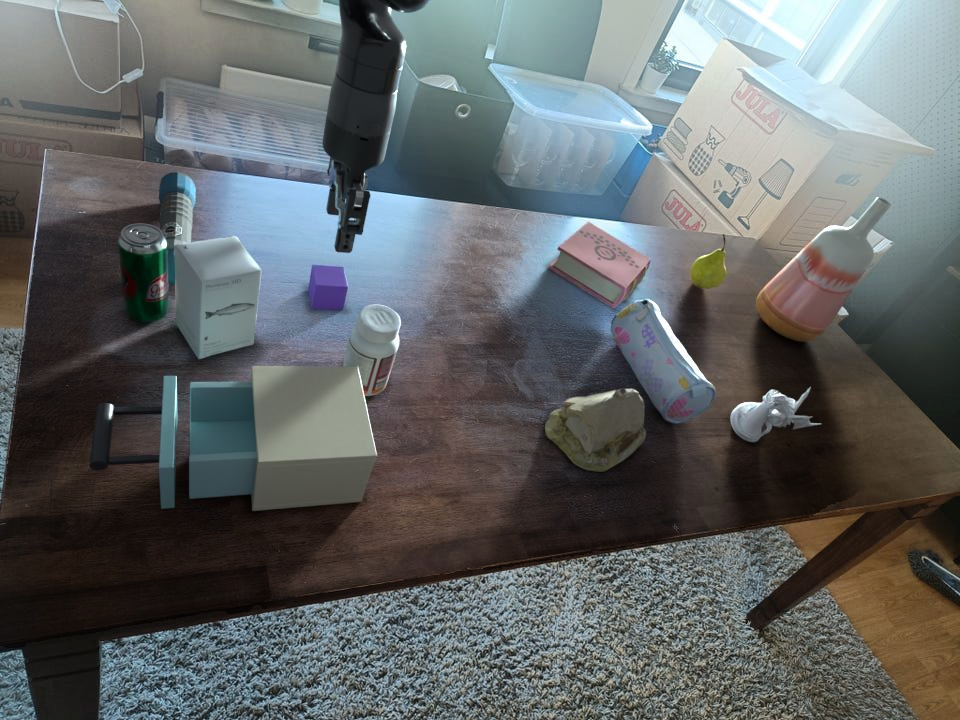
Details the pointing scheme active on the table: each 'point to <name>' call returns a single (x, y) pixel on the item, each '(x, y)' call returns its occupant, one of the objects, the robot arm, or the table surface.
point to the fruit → (709, 269)
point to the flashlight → (176, 214)
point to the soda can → (144, 272)
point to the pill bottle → (373, 346)
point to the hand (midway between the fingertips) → (338, 231)
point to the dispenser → (310, 436)
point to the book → (600, 264)
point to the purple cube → (327, 287)
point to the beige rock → (598, 428)
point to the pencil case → (661, 362)
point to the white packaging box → (216, 295)
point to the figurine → (767, 415)
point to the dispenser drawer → (194, 439)
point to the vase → (819, 279)
